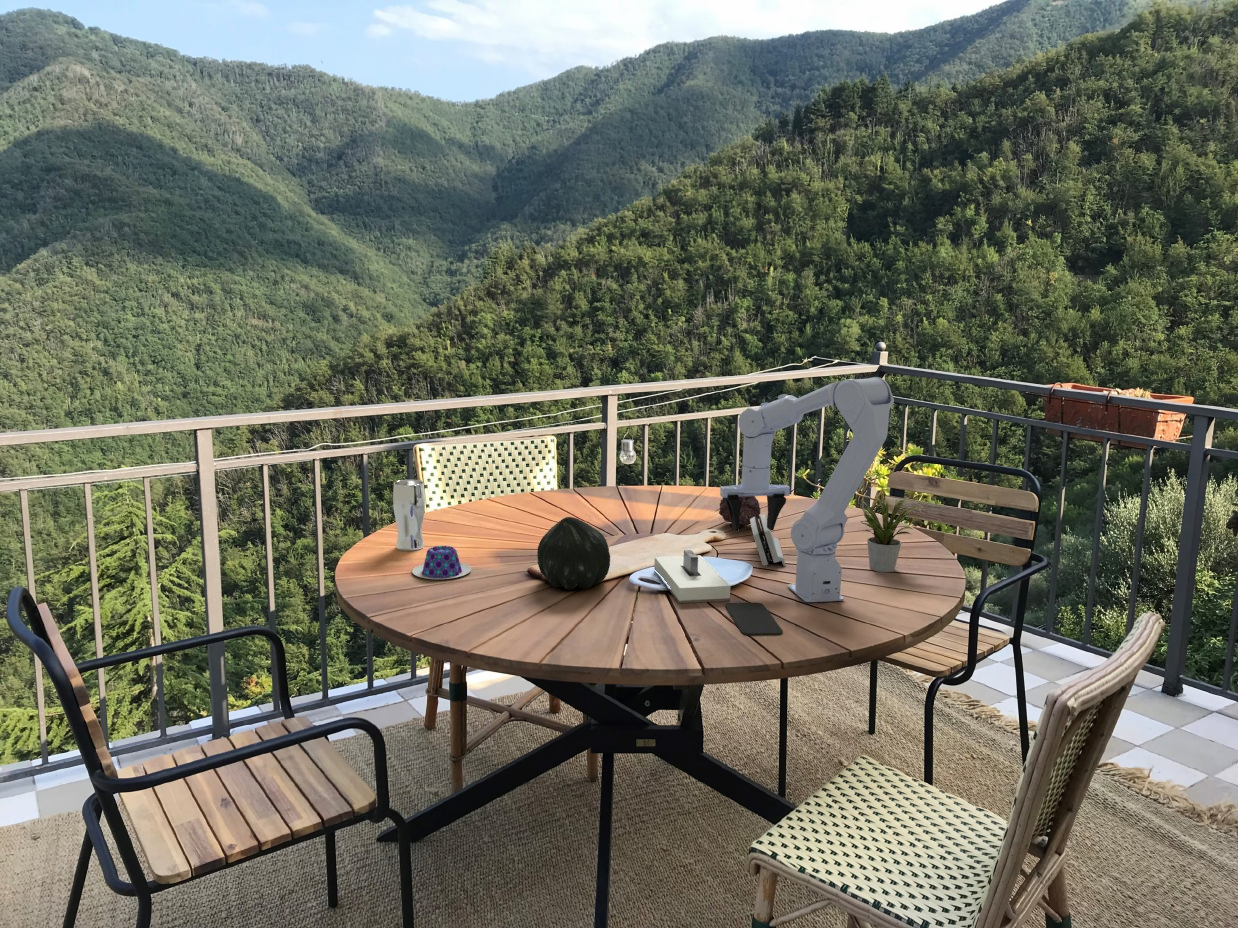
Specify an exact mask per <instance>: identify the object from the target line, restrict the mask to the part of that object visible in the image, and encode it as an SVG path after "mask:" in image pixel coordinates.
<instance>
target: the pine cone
mask: <svg viewBox="0 0 1238 928" xmlns="http://www.w3.org/2000/svg"><path fill="white" fill-rule="evenodd" d="M738 498H739V500H740V501H741V502H742V505H741V510H740V518H739V527H741V526H744V527H748V525H751V523H750V519H751V518H753V517H755V518H756V517H757V518H758V520H759V516H760V515H761V507H760V503H759V500H758V499H757V496H738ZM718 514H719V516H721V517H722V519H723V521H724V522H727V523H731V524H732V521H731V517H730V513H729V510H728V507H727V505H726V503H725V500H724V498H723V497H722V499H720V503H719V512H718Z"/></svg>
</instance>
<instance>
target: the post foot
mask: <svg viewBox="0 0 1238 928" xmlns="http://www.w3.org/2000/svg"><path fill="white" fill-rule="evenodd" d="M696 556H697V557H698V574H697V576H689V575H688V574H687V573H686V572H685V571H684V570H683V562H684V555H676V556H675V555H673V556H655V557H654V565H653V566H654V568H653V569H655V570H656V571H657V572H658V573H659V574H660V575H661V576H662V577H663V578H664V580H665V581H666V582H667V584H668V585H669V586H670V588H671V590H670V591H669V592H670V593H671V595H672V596H673V597H674V598H675V600H676V601H677V603H678V604H686V603H687V604H688V603H689V604H692V603H693V604H694V603H707V602H708V603H709V602H711V603H712V602H729V601H731V585H730V584H729V583H728V581H726V580H725V579H724V577H722V576H721V575H720V573H719V572H718V571H717V570H716V569H715V568H714V567H713V566H711V565H710V563H709V562H708V561H707V560H706V559H704V558H703V557H702V556H701V555H700V554H698V555H696Z"/></svg>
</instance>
